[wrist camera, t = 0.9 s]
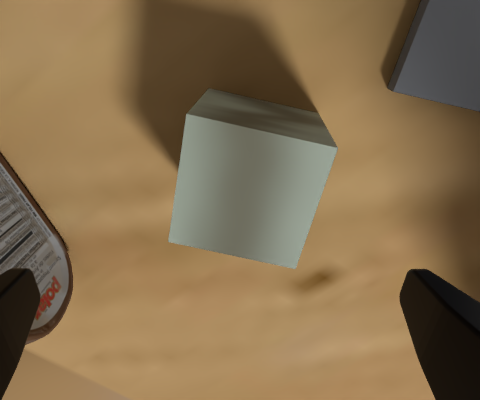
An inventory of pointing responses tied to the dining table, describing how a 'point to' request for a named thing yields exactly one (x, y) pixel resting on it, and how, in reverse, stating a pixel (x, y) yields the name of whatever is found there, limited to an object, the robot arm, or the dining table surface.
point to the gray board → (442, 54)
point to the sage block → (250, 177)
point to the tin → (33, 251)
